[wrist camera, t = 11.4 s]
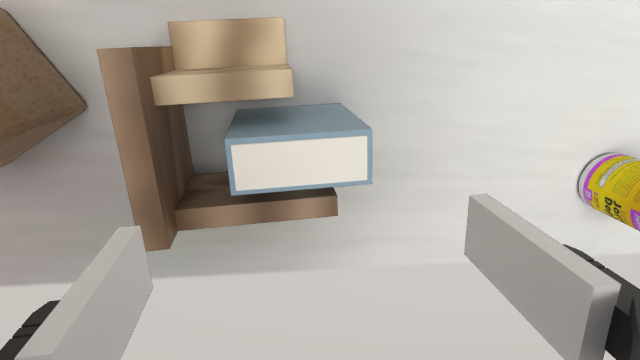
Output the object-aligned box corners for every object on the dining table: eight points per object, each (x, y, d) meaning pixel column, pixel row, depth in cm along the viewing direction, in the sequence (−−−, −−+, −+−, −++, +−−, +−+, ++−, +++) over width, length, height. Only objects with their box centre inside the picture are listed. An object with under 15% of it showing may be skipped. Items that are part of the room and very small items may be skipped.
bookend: (180, 91, 37) (155, 105, 29) (169, 22, 35) (138, 15, 27) (287, 85, 38) (294, 97, 30) (283, 17, 36) (288, 9, 28)
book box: (241, 149, 40) (230, 196, 27) (237, 109, 38) (223, 140, 26) (340, 142, 41) (373, 184, 28) (339, 103, 39) (372, 129, 27)
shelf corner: (176, 193, 40) (140, 251, 29) (150, 47, 35) (96, 49, 24) (323, 180, 42) (344, 231, 30) (316, 39, 37) (338, 37, 26)
